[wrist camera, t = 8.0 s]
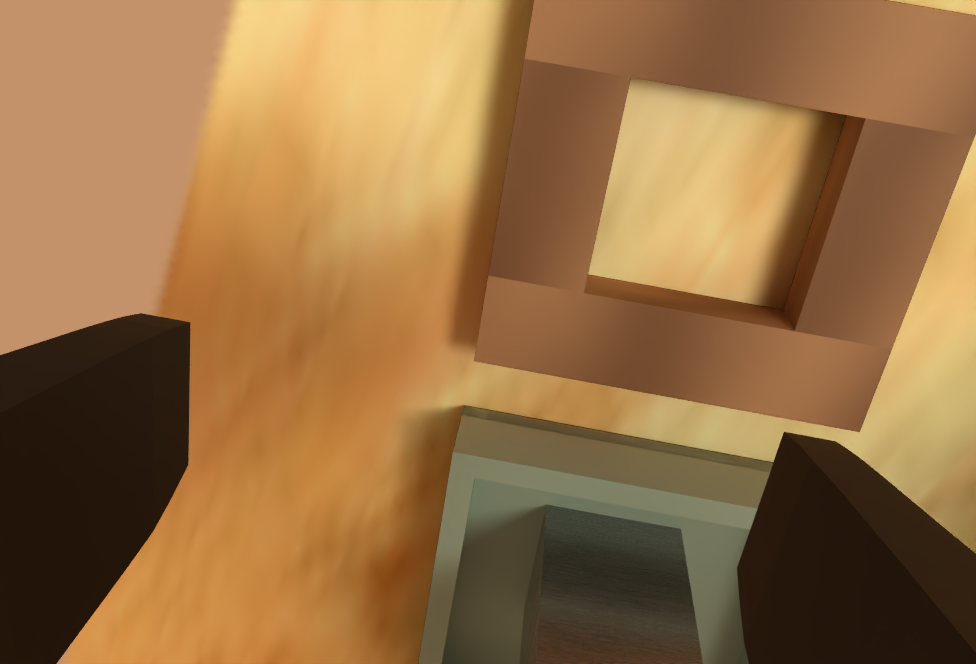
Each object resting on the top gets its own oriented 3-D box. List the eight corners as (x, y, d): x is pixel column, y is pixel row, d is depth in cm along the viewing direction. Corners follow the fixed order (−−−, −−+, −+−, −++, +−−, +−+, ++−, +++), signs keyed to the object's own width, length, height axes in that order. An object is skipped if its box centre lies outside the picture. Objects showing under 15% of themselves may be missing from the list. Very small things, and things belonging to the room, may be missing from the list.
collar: (991, 18, 18) (1018, 23, 17) (845, 406, 21) (859, 432, 20) (546, -59, 18) (543, -58, 17) (479, 339, 22) (474, 361, 21)
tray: (825, 472, 22) (848, 525, 20) (727, 731, 26) (738, 797, 24) (464, 405, 22) (452, 452, 20) (420, 671, 26) (407, 732, 24)
